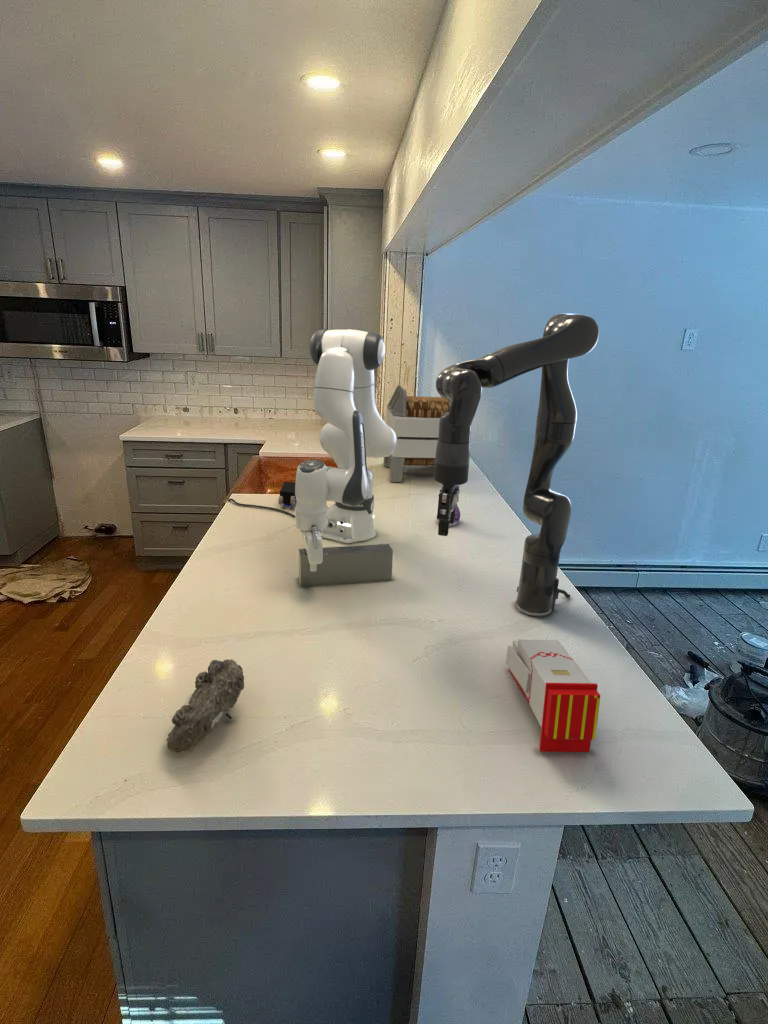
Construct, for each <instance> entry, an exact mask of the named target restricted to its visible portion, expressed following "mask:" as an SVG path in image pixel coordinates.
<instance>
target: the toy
mask: <svg viewBox="0 0 768 1024" xmlns="http://www.w3.org/2000/svg"><path fill="white" fill-rule="evenodd" d="M505 659H506V660H505V665H506V666H507V667H508V671H509V673H510V674H511V676H512V678H513V679H514V681H515V682H516V685H517V686H518V688H519V690H520V691H521V692H522V694H523V697H525V699H526V701H527V703H529V707H530V709H531V711H532V712H533V714H534V716H535V718H536V720H537V722H538V724H539V726H540V728H541V729H540V739H539V748H538V751H539V752H540V753H543V752H544V753H590V752H591V744H592V743H591V742H592V740H596V736H597V727H598V720H599V719H598V718H599V710H600V704H601V703H600V702H601V696H602V695H601V694H600V693H599V692H598V687H599V686H598V683H595V682H594V683H592V682H591V681H590V679H589V678H588V677H587V676H586V674H585V673H584V671H583V670H582V669H581V668H580V666H579V665H578V664H577V663H576V662H575V661H576V660H574V659H573V658H572V656H571V655H570V653H568V651H567V650H566V648H565V647H564V645H563V644H562V643H561V642H560V641H559V639H529V638H528V639H524V638H521V639H517V640H512V645H511V644H510V645H509V644H508V646H507V653H506V658H505Z"/></svg>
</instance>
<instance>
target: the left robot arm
mask: <svg viewBox="0 0 768 1024" xmlns="http://www.w3.org/2000/svg"><path fill="white" fill-rule="evenodd" d="M309 354H310V358H311V359H312V361H313V363H314V364H315V365H317V367H316V372H315V378H314V385H313V393H312V394H313V397H312V405H313V408H314V411H315V412H316V414H317V415H318V417H320V418H321V419H322V420H323V421H324V422H326V423H325V424H324V425H323V427H321V430H320V432H319V443H320V446H321V448H322V449H323V450H324V452H326V453H327V454H328V455H329V456H330V457H331V458H332V460H333V461H334V463H335V465H336V467H333V466H328V465H326V463H325V462H323V461H322V460H319V459H308V460H304V461H301V462H300V463H299V464H298V465H297V468H296V473H295V480H294V481H295V496H296V499H295V500H297V501H296V503H295V507H294V509H295V510H294V511H295V512H294V514H292V513H290V512H289V511H286V510H283V509H280V508H276V507H270V506H264V505H258V504H248V503H247V504H245V503H240V502H237V501H236V500H235V499H234V498H229V499H228V500H227V502H233V503H234V504H236V506H241V507H251V508H259V509H265V510H272V511H277V512H279V513H280V512H281V513H284V514H286V515H289V516H291V517H293V518H295V519H294V521H295V523H294V526H295V528H297V529H298V530H299V532H300V536H301V539H302V542H303V546H304V549H305V550H306V553H307V557H308V561H309V564H310V571H311V572H314V571H316V570H317V564H321V563H322V561H323V548H324V547H323V539H326V540H330V541H336V542H339V543H343V544H352V543H357V542H365V541H368V540H372V539H373V538H375V537H376V535H377V532H376V528H375V523H374V518H375V515H374V513H373V512H374V509H375V496H374V474H373V472H372V471H371V469H369V468H368V466H367V458H372V459H379V458H384V457H389V456H390V455H391V454H392V453H393V452H394V451H395V449H396V446H397V437H396V434H395V432H394V430H393V429H392V428H391V427H389V426H388V425H387V423H386V421H385V420H384V419H383V418H382V417H381V415H380V413H379V410H378V408H377V403H376V391H375V387H376V386H375V384H376V383H375V382H376V381H375V369H378V368H379V367H380V366H381V365H382V364H383V362H384V359H385V355H386V346H385V339H384V338H383V337H382V335H381V334H380V333H377V332H374V331H370V330H369V331H364V330H359V329H352V328H348V329H328V328H324V329H319V330H316V331H315V332H314V333H313V335H312V336H311V339H310V342H309ZM327 502H333V503H334V504H333V505H331V506H329V507H328V504H327Z"/></svg>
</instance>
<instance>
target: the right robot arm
mask: <svg viewBox="0 0 768 1024" xmlns="http://www.w3.org/2000/svg"><path fill="white" fill-rule="evenodd" d="M599 336H600V328H599V325H598V322H597V321H596V319H594V317H592V316H589V315H586V314H581V313H556V314H554V315H552V316H551V317H550V318H549V319H548V320H547V322H546V324H545V326H544V328H543V333H542V337H539V338H535V339H532V340H528V341H527V340H526V341H523V342H518V343H515V344H514V343H513V344H511V345H507V346H505V347H502V348H499V349H496V350H494V351H492V352H490V353H487V354H485V355H483V356H481V357H478V358H473V359H469V360H466V361H462V362H457V363H454V364H451V365H450V366H447V367H446V368H444V369H443V370H441V372H440V373H439V374H438V376H437V377H436V380H435V389H436V392H437V394H438V395H439V396H440V397H441V396H442V397H443V398H445V399H448V400H451V401H452V403H451V407H450V411H449V412H447V413H444V414H443V415H442V416H441V417H440V421H439V433H438V442H437V447H436V456H435V466H434V469H433V470H434V471H433V480H434V481H435V482H436V483H439V484H441V485H442V486H441V489H439V493H438V503H437V513H436V520H438V519H439V522H438V529H437V535H438V536H442V537H447V536H449V532H450V531H449V529H450V527H449V523H454V520H455V509H456V508H454V507H456V506H458V503H459V498H460V497H459V495H460V486H462V485H464V484H466V483H467V482H468V479H469V470H470V459H471V458H470V457H471V435H472V424H473V420H474V419H475V415H476V414H477V411H478V407H479V404H480V401H481V398H482V393H483V389H490V388H495V387H498V386H500V385H502V384H505V383H507V382H509V381H512V380H513V379H515V378H518V377H520V376H522V375H525V374H528V373H529V372H533V371H536V370H537V369H541V380H540V390H539V399H538V400H539V401H538V409H537V415H536V422H535V430H534V440H533V441H534V443H533V450H532V456H531V463H530V468H529V474H528V479H527V483H526V487H525V492H524V495H523V502H522V510H523V511H522V512H523V515H524V516H525V518H526V519H527V520H528V521H531V522H533V523H535V524H536V525H539V526H540V530H539V533H534V534H530V535H527V536H526V538H525V539H524V543H523V544H524V545H523V552H522V560H521V566H520V572H519V574H520V575H519V581H518V586H517V588H516V593H517V595H516V600H515V608H516V610H518V611H519V612H521V613H522V614H524V615H527V616H531V617H546V616H549V615H550V614H551V613H552V612H555V608H556V603H557V600H558V599H559V594H563V595H564V597H565V598H566V599H570V598H571V594H570V593H568V592H567V591H566V590H564V589H561V588H559V581H560V579H559V578H558V577H557V576H558V569H559V564H560V558H561V557H560V556H561V552H562V547H563V546H564V544H565V542H566V538H567V534H568V530H569V525H570V520H571V517H572V516H571V515H572V502H571V500H570V498H569V497H568V496H566V495H564V494H562V493H559V492H558V491H554V490H552V489H551V487H552V485H551V484H552V478H553V473H554V470H555V468H556V467H557V465H558V463H559V462H560V461H561V459H562V458H563V457H564V456H565V454H567V452H568V451H569V449H570V448H571V446H572V444H573V442H574V438H575V433H576V427H577V420H578V412H577V406H576V405H577V404H576V401H575V398H574V395H573V393H572V389H571V386H570V383H569V376H568V375H569V374H568V373H569V371H568V370H569V361H570V359H575V358H579V357H584V356H585V355H587V354H588V353H590V352H591V351H593V349H594V348H595V347H596V345H597V343H598V341H599ZM443 510H445V511H446V512H445V515H443V514H442V511H443Z"/></svg>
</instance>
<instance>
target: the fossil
mask: <svg viewBox="0 0 768 1024" xmlns="http://www.w3.org/2000/svg"><path fill="white" fill-rule="evenodd" d="M243 670H244V669H243V667H242V665H240V664H237V662H236V661H235V660H234V659H232V658H231V659H227V658H226V659H224V660H223V661H222V660H217V659H212V660H211V661H210V663H209V665H208V666H207V671H201V672H199V673H198V674H197V675H196V676H195V680H194V684H195V685H194V687H195V689H194V690H193V693H192V694H191V697H190V698H189V700H188V704H184V705H182V706H181V707H180V709H177V710H176V711H175V713H174V715H173V716H172V718H171V723H172V724H173V727H172V730H171V731H170V732H168V734H167V738H166V741H167V742H166V745H167V749H168V750H169V751H173V752H174V753H176V754H178V753H182V752H188V751H189V752H192V751H193V750H195V748H196V747H197V746H199V744H200V743H201V742H203V741H204V740H205V739H206V738H207V737H208V736H209V735H210V734H211V733H212V732H214V730H215V729H217V727H218V726H219V724H220V722H221V721H222V720H223V719H224V718H225V716H226V717H227V719H229V720H233V717H232V715H230V714H229V710H230V709H231V708H234V706H235V704H236V703H237V702H238V699H239V697H240V695H241V693H242V691H243V690H245V689H244V688H245V675H244V671H243Z"/></svg>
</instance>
